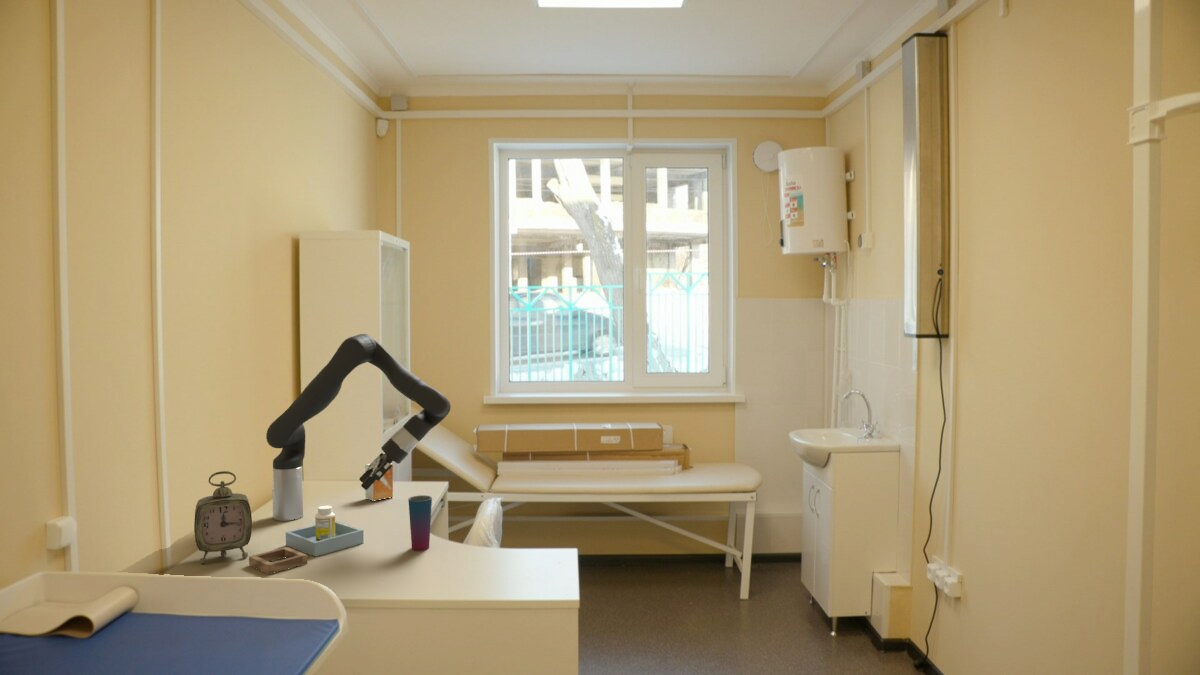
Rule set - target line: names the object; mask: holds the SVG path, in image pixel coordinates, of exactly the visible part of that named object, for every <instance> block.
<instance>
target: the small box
mask: <svg viewBox="0 0 1200 675" xmlns="http://www.w3.org/2000/svg"><path fill="white" fill-rule="evenodd" d="M370 464H371V463H367V464H365V466H364V468H365V472H366V471H367V469H368V466H369V465H370ZM391 465H392V467H391V468H390V469H389V470H388V471H387V472H386V473H385V474H384V475H383V477H382V478H381V479H380V480H379V481H375V482H374V483H373V484H372V485H371V486H370V487H369V488H368V489H367V490H365V489H364V490H365V493H364V496H365V497H366V498H368V499H370V500H373V501H374V500H379V499H384V498H389V497H393V498H394V495H393V494H394V472H393V471H394V465H393V463H391ZM365 472H364V473H365ZM377 475H378V474H377ZM365 497H364V498H365ZM370 500H369V501H370Z"/></svg>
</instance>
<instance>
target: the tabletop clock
mask: <svg viewBox="0 0 1200 675" xmlns="http://www.w3.org/2000/svg"><path fill="white" fill-rule="evenodd" d="M226 474H228V475H231V476H233V480H232V481H231V482H226V483H225V481H224V480H221V481H220V482H219V483H213V482H211V479H212V478H213V477H214V476H217V475H226ZM236 480H237V477H236V474H235V473H233V472H231V471H228V470H223V471H217V472H214V473H213V474H211V475H210V476H209V478H208V483H209V485H211V486H212V487H218V488H215V490H214V491H213V493H212V495H209V496H205V497H202V498H200V499H198V501H197V503H196V505H195V509H194V523H193V527H194V531H193V532H194V538H195V543H196V547H197V549H198V551H200V552H204V554H203V556H202V557H201V558H200V559H199V564H200V565H201V564H202V563H203V564H206V562H207V559H206V557H207V555H208V553H213V552H214V553H216V552H220V556H221V557H225V556H226V555H227V554H228V552H227V551H230V550H235V549H239V550H240V551H241V552H242V553H241V557H242V558H244V559H246V558H247V557H249V553H248V552H247V551H245V549H244V547H246V546H248V545H249V542H250V540H251V537H252V528H253V527H252V526H253V517H252V511H251V506H250V505H251V504H250V502H249V499H248V496H247V495H246V494H243V493H233V492H232V489H231V488H230V487H227V486H230V485H232V484H234V483H235V482H236Z"/></svg>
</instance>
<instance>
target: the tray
mask: <svg viewBox="0 0 1200 675" xmlns="http://www.w3.org/2000/svg"><path fill="white" fill-rule="evenodd" d="M361 543H362V544H364V529H361V528H358V527H355V526H353V525H352V526H351V525H349V524H345V523H343V522H340V521H336V520H335V537H331V538H328V539H324V540H320V541H316V524H314V525H310V526H309V525H308V526H305V527H301V528H297V529H293V530H290V531H285V546H286V545H287V546H286V547H289V546H290V547H289V548H291V547H293V548H292V549H294V548H295V549H294V550H296V549H298V550H297V551H299V550H300V551H299V552H301V551H303V552H302V553H304V552H306V553H305V554H307V553H308V554H307V555H309V554H310V556H312V555H313V556H312V557H314V556H316V557H320V556H323V555H326V554H330V553H333V552H337V551H340V550H344V549H348V548H351V547H355V546H358V544H359V545H361ZM319 555H320V556H319Z"/></svg>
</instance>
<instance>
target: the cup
mask: <svg viewBox="0 0 1200 675" xmlns="http://www.w3.org/2000/svg"><path fill="white" fill-rule="evenodd" d="M407 500H408V512H409V513H408V514H409V524H410V525H409V528H410V541H411V543H410V544H411V550H412V551H416V552H417V551H418V552H420V551H426V550H428V549H429V548H430V539H431V538H430V537H431V521H432V505H433V502H432V500H433V497H432V496H430V495H426V494H425V495H424V494H423V495H421V494H420V495H419V494H418V495H413V496H410V497H409V498H408V499H407Z"/></svg>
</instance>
